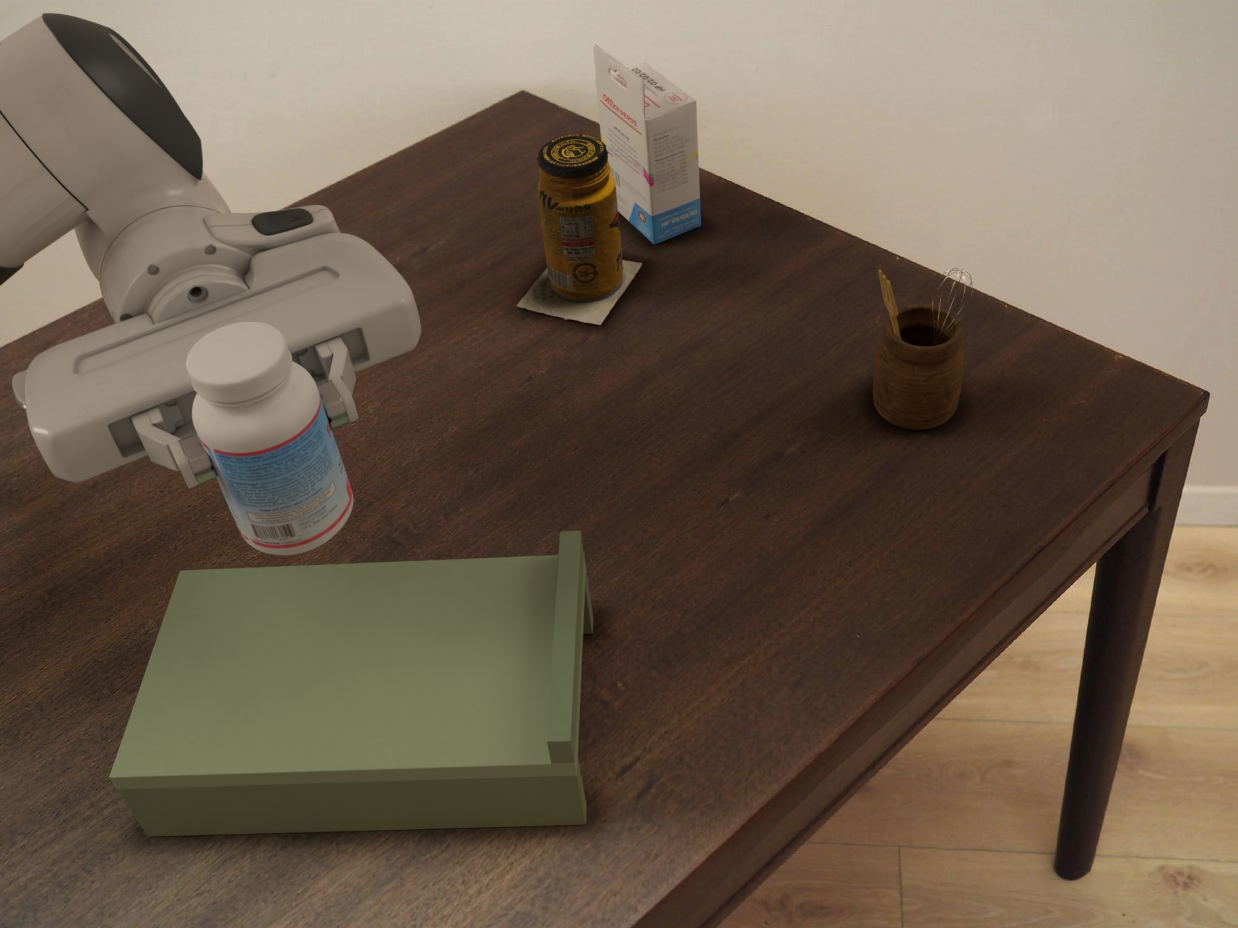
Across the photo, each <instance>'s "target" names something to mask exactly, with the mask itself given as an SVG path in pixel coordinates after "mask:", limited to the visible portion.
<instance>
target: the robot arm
mask: <svg viewBox="0 0 1238 928" xmlns="http://www.w3.org/2000/svg"><path fill="white" fill-rule="evenodd" d="M73 230H74V233H75V237H76V239H77V242H78V245H79V247H80V250H81V252H82V256H83V257H84V260H85V262H86V264H87V266H88V268H89V270H90V271H91V273H92V274H93V276H94V277H95V279H96V280H97V281H98V283H99V284H98V285H99V289H100V294H101V296H102V299H103V301H104V304H105V306H106V308H107V311H108V313H109V314H110V315H109V316H110V317H111V319H112V321H113V323H114V324H111V325H109V326H105V327H102V328H100V329H98V330H95V331H92V332H89V333H87V334H83V335H80V336H78V337H76V338H72V339H69V340H67V341H64V342H61V343H59V344H56V345H54V346H52V347H50V348H47V349H46V350H44V351H42V352H40V353H38V354H36V355H34V357H33V360H32V361H31V362H30V364H29V365H27V366H26V367H24V368H23V369H22V370H20V372H17V373H16V374H14V375H13V377H12V380H11V385H12V392H13V395H14V398H15V401H16V404H17V405H18V407H19V408H20V409H22V410H23V411H25V413H26V418H27V423H28V427H29V430H30V433H31V437H32V438H33V441H34V443H35V445H36V448H37V449H38V450H39V453H40V454H41V457H42V458H43V460H44V462H45V464H46V465H47V467H48V469H49V471H50V472H51V474H52V475H53V476H54V477H55V478H57V479H60V480H63V481H65V482H70V483H75V484H77V483H82V482H85V481H88V480H91V479H92V478H95V477H97V476H100V475H102V474H104V473H108V472H110V471H112V470H115V469H117V468H119V467H122V466H125V465H128V464H129V463H133V462H135V461H137V460H140V459H142V458H145V457H147V456H148V458H149V461H150V462H151V463H154V464H156V465H159V466H162V467H164V468H167V469H170V470H172V471H175V472H180V473H181V476H182V478H183V480H184V482H185V484H186V487H187V489H192V488H194V487H197V486H199V485H201V484H205V483H206V482H208V481H210V480H213V479H216V477H217V475H216V472H215V470H214V468H213V466H212V463H211V461H210V458H209V456H208V454H207V452H206V450H205V449H204V447H203V446H202V444H201V442H200V439H199V437H198V435H197V432H196V430H195V427H194V424H193V420H192V407H193V403H194V400H195V397H196V395H197V392H196V391H195V390H194V388H193V386H192V381H191V379H190V376H189V374H188V371H187V367H186V360H187V356H188V354H189V352H190V350H191V349H192V347H193V346H194V345H195V344H196V343H197V342H198V341H199V340H200V339H201V338H202V337H204V336H205V335H207V334H209V333H210V332H212V331H214V330H216V329H218V328H221V327H223V326H227V325H230V324H234V323H240V322H260V323H265V324H268V325H271V326H273V327H275V328H276V329H278V330H279V331H280V332H281V333H282V335H283V336H284V339H285V341H286V344H287V347H288V349H289V351H290V353H291V355H292V361H293V362H295V363H297V364H299V365H300V366H302V367H303V368H304V369H305V370H307V371H308V372H309V374H310V375H311V376H312V378H313V379H314V381H315V383H316V385H317V388H318V390H319V394H320V397H321V399H322V403H323V406H324V409H325V412H326V414H327V417H328V420H329V424H330V427H331V429H332V431H333V430H335V429H337V428H341V427H342V426H345V425H348V424H350V423H353V422H356V421H359V419H360V418H359V414H358V410H357V407H356V404H355V403H356V402H355V400H354V398H353V393H354V389H355V386H356V382H357V376H356V373H358V372H361V371H364V370H366V369H369V368H371V367H374V366H376V365H379V364H381V363H384V362H386V361H389V360H391V359H394V358H396V357H398V356H401V355H405V354H407V353H409V352H412V351H414V350H415V348H416V347H417V345H418V344H419V341H420V338H421V335H422V324H421V318H420V313H419V310H418V306H417V303H416V299H415V296H414V294H413V291H412V289H411V287H410V285H409V284H408V282H407V281H406V280H405V278H404V276H402V274H401V273H400V272H399V271H398V270H397V269H396V268H395V267H394V265H393V264H392V263H391V262H389V260H388V259H387V258H386V257H385V256H384V255H382V253H380V251H378V250H377V249H376V248H375V247H374V246H372V245H371V244H370V243H369V242H367V241H366V240H364V239H362V238H361V237H359V236H356V235H353V234H350V233H344V232H341V230H340V228H339V226H338V224H337V221H336V219H335V216H334V215H333V213H332V211H331V210H330V209H329V208H328V207H327V206H325V205H321V204H311V205H304V206H298V207H292V208H291V207H290V208H286V209H279V210H269V211H259V212H258V211H257V212H232V211H231V209H230V207H229V205H228V203H227V201H226V200H225V199H224V197H223V195H222V194H221V192H220V191H219V189H218V188H217V186H216V185H215V184H214V183H213V181H212V180H211V179H210V177H209V176H208V175H207V174H206V173H205V172H204V157H203V146H202V140H201V137H200V136H199V134H198V133H197V130H196V129H195V128H194V126H193V124H192V123H191V121H190V120H189V119H188V118H187V116H186V115H185V113H184V112H183V110H182V109H181V107H180V105H179V104H178V102H177V101H176V99H175V98H174V96H173V95H172V93H171V92H170V90H169V89H168V87H167V86H166V84H165V83H164V82H163V81H162V79H161V77H160V76H159V75H158V74H157V73H156V71H155V70H154V69H153V68H152V66H151V65H150V64H149V62H148V61H147V60H145V58H144V57H143V56H142V55H141V54H140V53H139V52H138V51H137V49H136V48H135V47H134V46H132V44H130V43H129V42H128V41H127V39H125V38H124V37H123V36H122V35H121V34H120V33H118V32H117V31H116V30H114V29H113V28H111V27H109V26H106V25H103V24H100V23H97V22H94V21H91V20H88V19H86V18H85V19H84V18H81V17H78V16H74V15H69V14H65V13H55V12H43V13H42V15H40V16H38V17H37V18H35V19H33V20H32V21H30V22H28V23H26V24H25V25H23V26H21V28H19V29H18V30H16V31H13V33H11V34H9V35H8V36H7V37H5V38H3V39H2V40H1V41H0V287H1V286H2V285H4V284H5V283H6V282H7V281H8V280H9V279H11V278H12V277H13V276H14V275H15V274H17V273H18V272H19V271H20V270H21V269H23V267H24V266H25V263H27V262H28V261H29V260H31V259H32V258H34V257H35V256H37V255H38V254H40V253H41V252H43V251H44V250H45V249H47V248H48V247H49V246H51V245H52V244H54V243H55V242H57V241H58V240H60V239H61V238H62V237H64V236H66V235H67V234H68V233H70V232H71V231H73Z"/></svg>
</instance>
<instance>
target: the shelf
mask: <svg viewBox="0 0 1238 928" xmlns="http://www.w3.org/2000/svg"><path fill="white" fill-rule="evenodd" d="M558 539H559V540H558V554H553V555H551V554H550V555H528V556H527V555H525V556H502V557H477V558H453V559H430V560H428V559H427V560H406V561H405V560H403V561H379V562H377V561H376V562H355V563H354V562H353V563H352V562H351V563H332V564H331V563H328V564H307V565H306V564H305V565H304V564H303V565H284V566H283V565H281V566H256V567H233V568H214V569H213V568H209V569H207V568H206V569H183V570H182V569H181V570H180V571H179V573H178V576H177V579H176V581H175V585H174V587H173V590H172V593H171V596H170V600H169V602H168V605H167V608H166V611H165V614H164V616H163V619H162V623H161V625H160V628H159V631H158V634H157V637H156V640H155V642H154V645H153V649H152V651H151V654H150V657H149V660H148V663H147V666H146V669H145V672H144V675H143V678H142V681H141V684H140V686H139V689H138V692H137V695H136V698H135V701H134V703H133V707H132V710H131V713H130V716H129V718H128V721H127V724H126V726H125V729H124V733H123V736H122V739H121V741H120V744H119V748H118V750H117V753H116V756H115V759H114V762H113V765H112V768H111V771H110V774H109V779H110V781H111V783H112V784H113V785H114V787H115V788H116V790H117V792H118V793H119V795H120V796H121V798H122V799H123V801H124V802H125V804H126V806H127V807H128V808H129V810H130V812H131V813H132V815H133V816H134V817H135V819H136V820H137V823H138V824H139V825H140V827H141V828H142V830H143V831H144V833H145V834H146V836H147V837H183V836H186V837H187V836H216V835H217V836H219V835H221V836H223V835H255V834H257V835H258V834H293V833H295V834H296V833H329V832H331V833H332V832H364V831H365V832H366V831H367V832H368V831H399V830H406V831H407V830H436V829H438V830H439V829H474V828H475V829H476V828H478V829H479V828H510V827H511V828H512V827H514V828H516V827H548V826H549V827H550V826H551V827H552V826H583V825H584V826H585V825H586V824H587V810H588V809H587V808H588V807H587V799H586V795H585V794H586V793H585V789H584V783H583V778H582V777H583V776H582V772H581V765H580V761H579V756H578V755H579V740H580V739H579V738H580V737H579V736H580V716H581V714H580V713H581V691H582V689H581V688H582V668H583V664H582V663H583V647H584V646H583V645H584V635H593V633H594V613H593V607H592V599H591V592H590V586H589V579H588V572H587V565H586V558H585V550H584V543H583V537H582V531H581V530H561V531H559V538H558Z"/></svg>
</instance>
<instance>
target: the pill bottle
mask: <svg viewBox="0 0 1238 928" xmlns="http://www.w3.org/2000/svg"><path fill="white" fill-rule="evenodd" d="M186 367H187V371H188V374H189V376H190V379H191V381H192V386H193V388H194V390H195V391H196V392H197V395H196V397H195V400H194V403H193V407H192V420H193V424H194V427H195V430H196V432H197V435H198V437H199V439H200V442H201V444H202V446H203V447H204V449H205V450H206V452H207V454H208V456H209V458H210V461H211V463H212V466H213V468H214V470H215V472H216V475H217V477H216V478H215V479H216V482H217V484H218V485H219V488H220V490H221V493H222V495H223V497H224V499H225V502H226V504H227V506H228V508H229V511H230V513H231V515H232V518H233V520H234V522H235V525H236V528H237V529H238V531H239V533H240V536H241V537H242V538H243V540H244V541H245V542H246V543H247V544H248V545H249V546H251V547H252V548H254V550H257V551H259V552H262V553H264V554H267V555H275V556H291V555H292V556H293V555H298V554H303V553H306V552H309V551H312V550H315V549H317V548H319V547H320V546H323V545H324V544H325V543H327V542H329V540H331V539H332V538H334V537H335V535H337V534H338V532H339V531H340V530H341V529H342V528H343V527H344V526H345V525H346V523H347V522H348V519H349V518H350V516H351V514H352V511H353V506H354V494H353V493H354V492H353V489H352V486H351V483H350V480H349V476H348V474H347V471H346V468H345V464H344V462H343V459H342V456H341V453H340V450H339V448H338V445H337V441H336V438H335V435H334V432H333V430H332V429H331V427H330V424H329V420H328V417H327V414H326V412H325V409H324V406H323V403H322V399H321V397H320V394H319V390H318V388H317V385H316V383H315V381H314V379H313V378H312V376H311V375H310V374H309V372H308V371H307V370H305V369H304V368H303V367H302V366H300V365H299V364H297V363H295V362H293V361H292V355H291V353H290V351H289V349H288V347H287V344H286V341H285V339H284V336H283V335H282V333H281V332H280V331H279V330H278V329H276V328H275V327H273V326H271V325H268V324H265V323H260V322H240V323H234V324H230V325H227V326H223V327H221V328H218V329H216V330H214V331H212V332H210V333H209V334H207V335H205V336H204V337H202V338H201V339H200V340H199V341H198V342H197V343H196V344H195V345H194V346H193V347H192V349H191V350H190V352H189V354H188V356H187V360H186Z"/></svg>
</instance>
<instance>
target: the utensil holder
mask: <svg viewBox="0 0 1238 928" xmlns="http://www.w3.org/2000/svg"><path fill="white" fill-rule="evenodd" d="M952 271H954V272H952ZM947 272H948V273H947ZM951 272H952V273H951ZM956 273H958V274H957V275H956V277H955V280H954V282H953V284H952V287H951V290H950V292H949V295H948V298H947V301H946V304H945V307H941V300H942V296H943V291H944V289H945V285H946V282H947V280H948V278H949V277H950V276H951V275H953V274H956ZM945 274H947V276H945V278H944V279H943V281H941V278H942V277H943V275H945ZM959 275H960V278H959V281H958V283H957V287H956V289H955V292H954V296H953V299H952V301H951V304H950V306H949V308H948V309H947V306H948V304H949V300H950V298H951V295H952V291H953V289H954V286H955V283H956V281H957V279H958V277H959ZM964 275H966V276H967V277H968V278H969V281H970V283H969V287H968V290H967V294H966V297H965V293H966V287H964V290H963V295H962V298H961V301H960V304H959V308H958V310H957V313H956V315H955V314H954V313H953V312H952V311H951V308H952V306H953V303H954V300H955V297H956V295H957V291H958V288H959V285H960V282H961V279H962V278H963V284H964V286H966V280H965V276H964ZM878 277H879V283H880V287H881V293H882V294H881V295H882V298H883V303H884V306H885V308H886V310H887V311H888V314H889V315H888V317H887V318H886V321H885V323H884V326H883V330H882V339H881V340H880V342H879V343H878V346H877V349H876V354H875V360H874V371H873V382H872V383H873V384H872V399H873V405H874V407H875V409H876V411H877V413H878V414H879V415H880V417H881V418H883V419H884V420H885V421H886V422H888V423H890V424H891V425H894V427H895V426H896V427H898V428H902V429H906V430H913V431H922V430H923V431H924V430H931V429H934V428H937V427H939V426H942V425H943V424H945V423H947V422H948V421H949V420H950V419H952V417H953V416H954V414H955V412H956V410H957V408H958V406H959V401H960V397H961V391H962V384H963V377H964V369H965V352H964V349H963V346H962V345H963V341H964V334H963V333H964V332H963V326H962V323H961V319H962V318H963V316H965V315H964V314H965V313H966V311H967V309H968V307H969V305H970V302H971V299H972V294H973V291H974V285H973V279H972V276H971V274H970V272H968V271H966V270H963V268H961V269H959V268H958V267H954V268H951V269H948V270H946V271H945V272H943V273H942V274H941V275H940V277H939V279H938V280H937V284H936V286H935V289H934V292H933V295H932V299H934V300H932V301H931V302H932V303H931V304H928V303H914V304H913V303H912V304H909V305H904V306H902V307H899V308H898V307H897V303H896V299H895V296H894V292H893V289H892V284H891V281H890V280H889V279H887V276H886V275H885V274H883V270H882V269H878ZM940 281H941V284H940V286H939V288H938V285H939V282H940ZM942 285H943V287H942ZM937 288H938V291H937ZM941 288H942V289H941ZM940 290H941V294H940V298H939V305H936V301H937V298H938V296H939V293H940ZM970 290H971V293H970ZM936 291H937V293H936ZM969 293H970V297H969V300H968V302H967V298H968V295H969ZM935 294H936V296H935ZM964 297H965V300H964ZM963 300H964V302H963ZM966 302H967V304H966V305H967V306H966V308H965V310H964V312H963V313H962V315H961V316H960V317H959V318H958V315H960V312H961V311H962V310H963V307H964V305H965V303H966Z"/></svg>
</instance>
